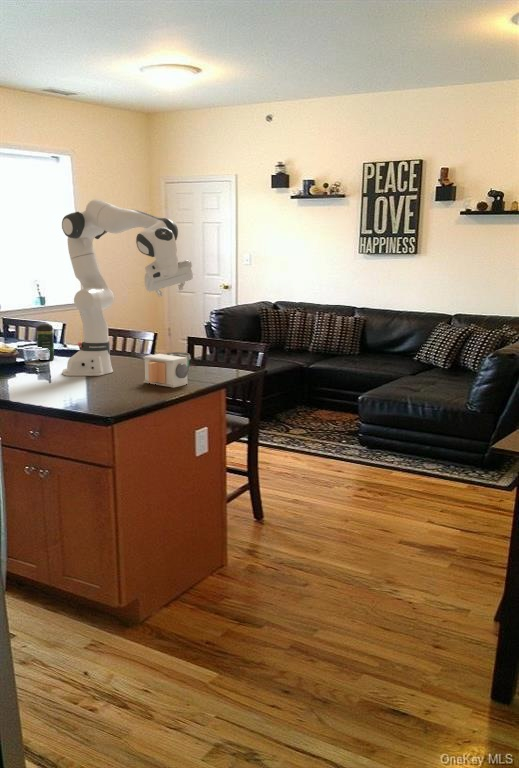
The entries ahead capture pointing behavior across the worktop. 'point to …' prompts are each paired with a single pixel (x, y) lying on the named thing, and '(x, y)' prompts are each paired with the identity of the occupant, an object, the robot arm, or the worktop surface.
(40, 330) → the coffee jar
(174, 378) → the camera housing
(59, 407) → the worktop surface
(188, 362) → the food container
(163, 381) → the side door
